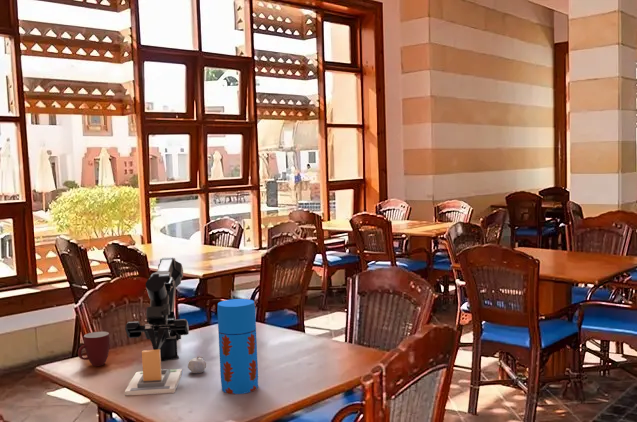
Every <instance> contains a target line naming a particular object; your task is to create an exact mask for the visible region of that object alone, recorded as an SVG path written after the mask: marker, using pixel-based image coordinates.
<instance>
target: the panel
mask: <svg viewBox="0 0 637 422" xmlns="http://www.w3.org/2000/svg"><path fill="white" fill-rule="evenodd" d="M161 373H162V381H161V382H146V383H143V370H140V371H136V372H135V374H134V375H133V377H132V379H131V380H130V382H129V383H128V384H127V387H125V391H124V396H137V395H141V396H142V395H154V394H156V395H157V394H172V393H173V394H175V392H176V391H177V387H178V385H179V382H180V380H181V377H182V375H183V369H182V368H181V369H179V368H178V369H177V368H176V369H174V368H173V369H171V368H166V369H165V368H163V369H162V368H161Z"/></svg>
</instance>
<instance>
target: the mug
mask: <svg viewBox="0 0 637 422" xmlns="http://www.w3.org/2000/svg"><path fill="white" fill-rule="evenodd" d="M110 339H111V338H110V333H109V332H108V331H93V332H89V333H85V334H84V336H83V344H82V345H80V347H78V351H77V355H78V358H79V359H80V360H82V361H83V360H84V361H89V362H90V364H91V365H92V366H93V367H100V366H104V365H105V364H106V363H107V359H108V357H109V352H110V341H111V340H110ZM84 349H85V353H86V357H83V355H82V352H83V350H84Z"/></svg>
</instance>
